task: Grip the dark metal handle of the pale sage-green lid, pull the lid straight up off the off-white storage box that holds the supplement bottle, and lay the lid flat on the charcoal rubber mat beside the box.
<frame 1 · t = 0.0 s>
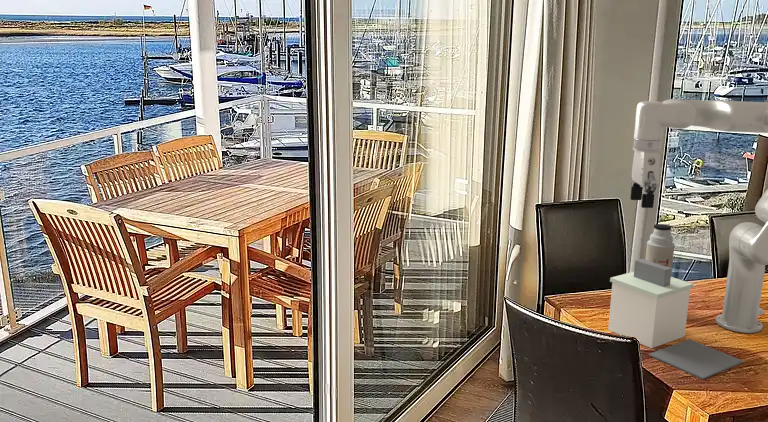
hand: (641, 203, 199), 37 cm above the table, tool pointing down, fingers open, 9 cm apart
lid: (651, 284, 198), point 15 cm above the table, touching storage box
thermos bottle: (653, 311, 218), on the table
mat: (695, 358, 185), on the table
storage box: (645, 333, 201), on the table
supplement bottle: (645, 333, 201), resting in storage box
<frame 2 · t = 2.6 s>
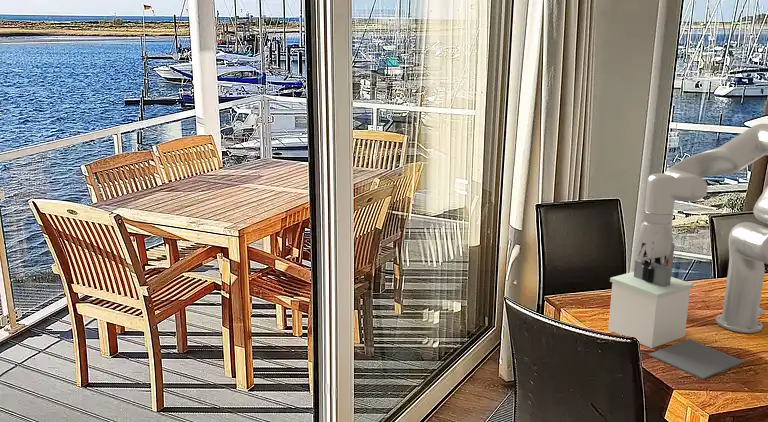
hand: (651, 279, 197), 17 cm above the table, tool pointing down, fingers closed on lid, 3 cm apart
lid: (651, 284, 198), point 15 cm above the table, touching gripper, storage box
everything else where it was.
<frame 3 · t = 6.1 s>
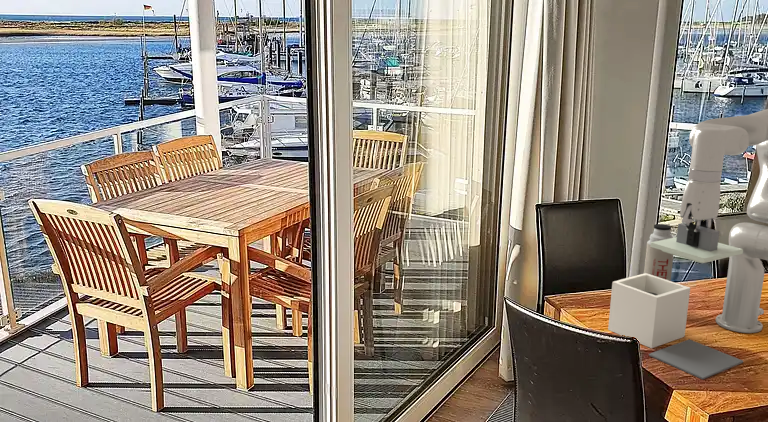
hand: (696, 243, 181), 31 cm above the table, tool pointing down, fingers closed on lid, 3 cm apart
lid: (695, 250, 181), point 30 cm above the table, touching gripper
everything else where it was.
when the fingers open (5 cm above the table, at t = 10.0 s): lid drops 1 cm, resting on mat.
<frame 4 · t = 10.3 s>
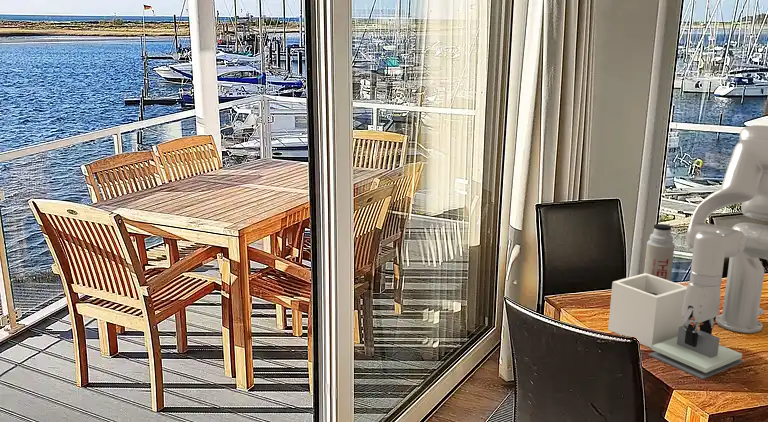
hand: (697, 341, 184), 5 cm above the table, tool pointing down, fingers open, 5 cm apart
lid: (696, 353, 185), point 1 cm above the table, touching mat
everything else where it was.
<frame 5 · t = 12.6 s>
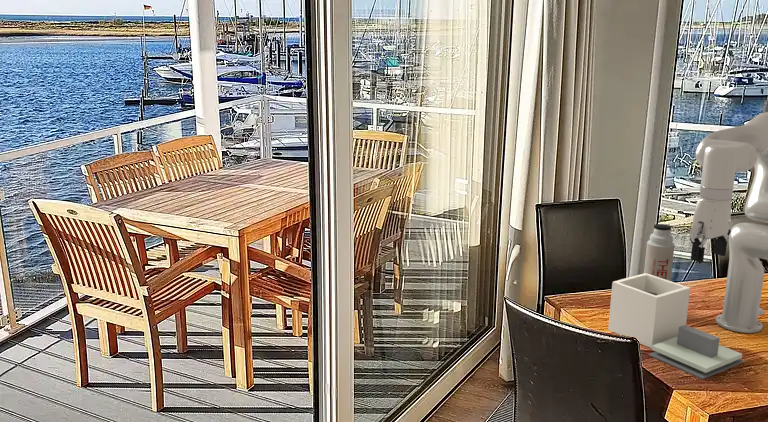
hand: (708, 257, 179), 28 cm above the table, tool pointing down, fingers open, 9 cm apart
nothing on the table moved.
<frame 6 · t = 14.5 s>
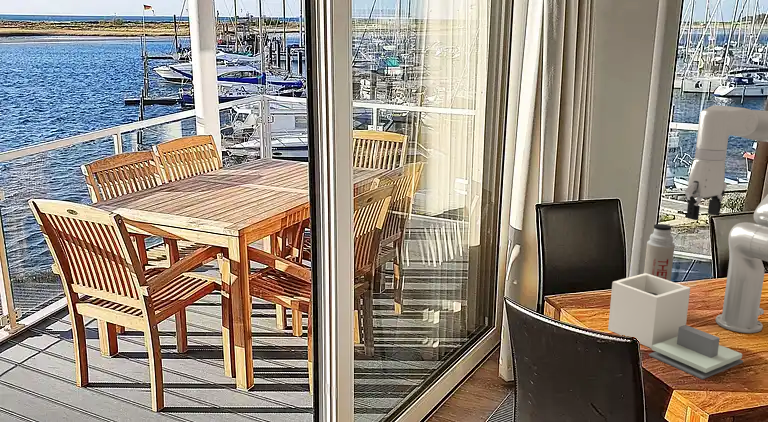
hand: (703, 216, 189), 36 cm above the table, tool pointing down, fingers open, 9 cm apart
nothing on the table moved.
at the end: lid inside the target area on the mat (0.1 cm from its centre), point 1.5 cm above the mat's base; lid tilted 0°; the gripper is holding nothing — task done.
